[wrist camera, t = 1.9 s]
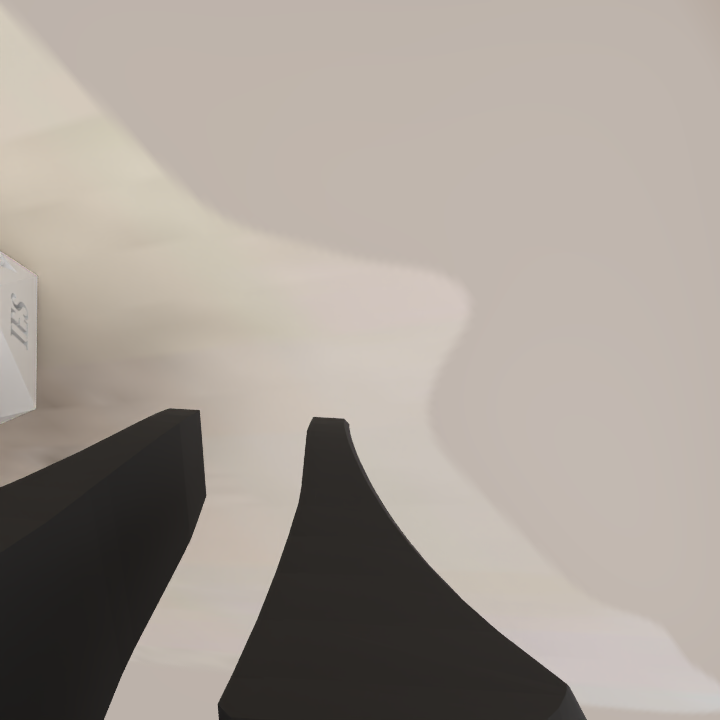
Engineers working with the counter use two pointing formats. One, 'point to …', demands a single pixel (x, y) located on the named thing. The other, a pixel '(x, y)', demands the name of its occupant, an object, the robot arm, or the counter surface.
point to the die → (17, 339)
